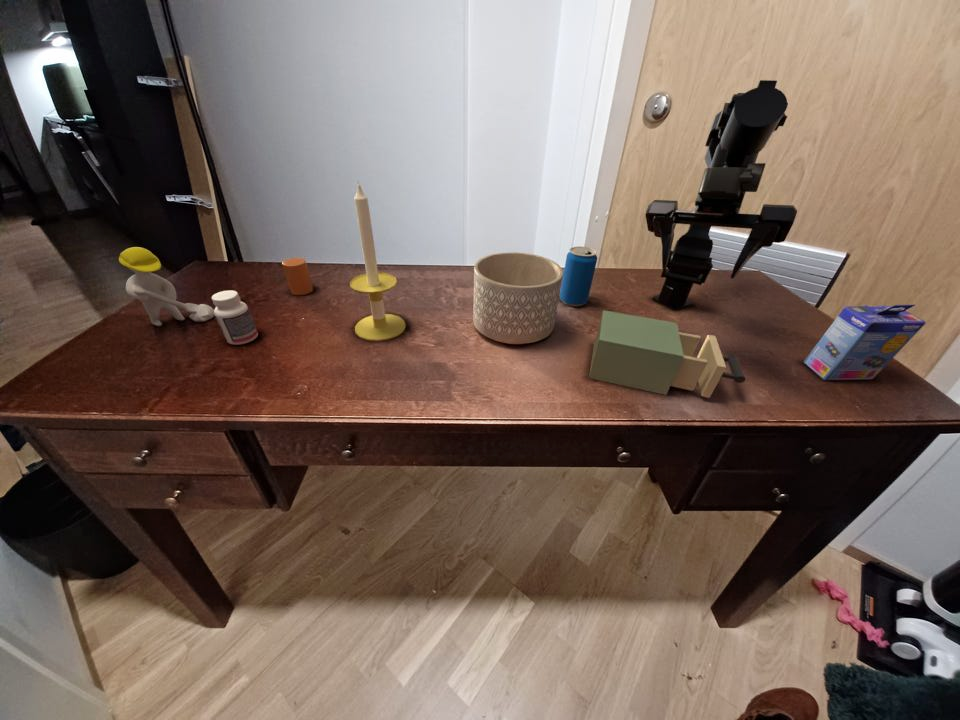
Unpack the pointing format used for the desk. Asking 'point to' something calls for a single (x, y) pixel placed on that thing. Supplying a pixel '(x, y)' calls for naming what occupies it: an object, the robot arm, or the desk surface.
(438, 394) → the desk surface
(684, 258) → the robot arm
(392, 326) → the candle
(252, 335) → the pill bottle
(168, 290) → the figurine
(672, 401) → the desk surface
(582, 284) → the beverage can
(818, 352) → the ink cartridge box
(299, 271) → the orange cylinder
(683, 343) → the drawer
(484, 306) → the planter
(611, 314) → the cabinet
